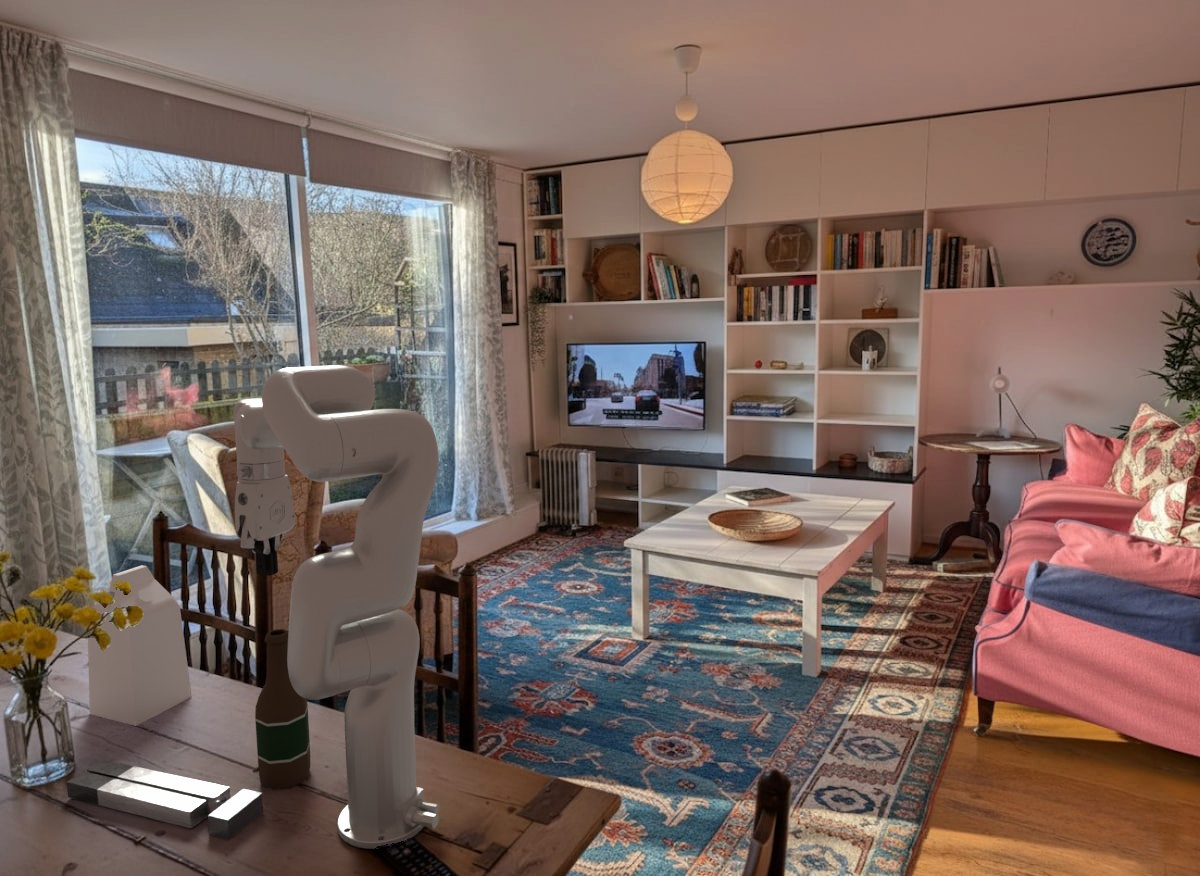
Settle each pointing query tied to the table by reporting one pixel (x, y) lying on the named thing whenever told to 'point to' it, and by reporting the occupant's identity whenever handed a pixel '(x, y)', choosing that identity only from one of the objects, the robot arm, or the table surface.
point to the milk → (139, 655)
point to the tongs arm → (165, 782)
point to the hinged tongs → (167, 803)
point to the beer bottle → (281, 722)
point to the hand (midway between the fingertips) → (267, 573)
